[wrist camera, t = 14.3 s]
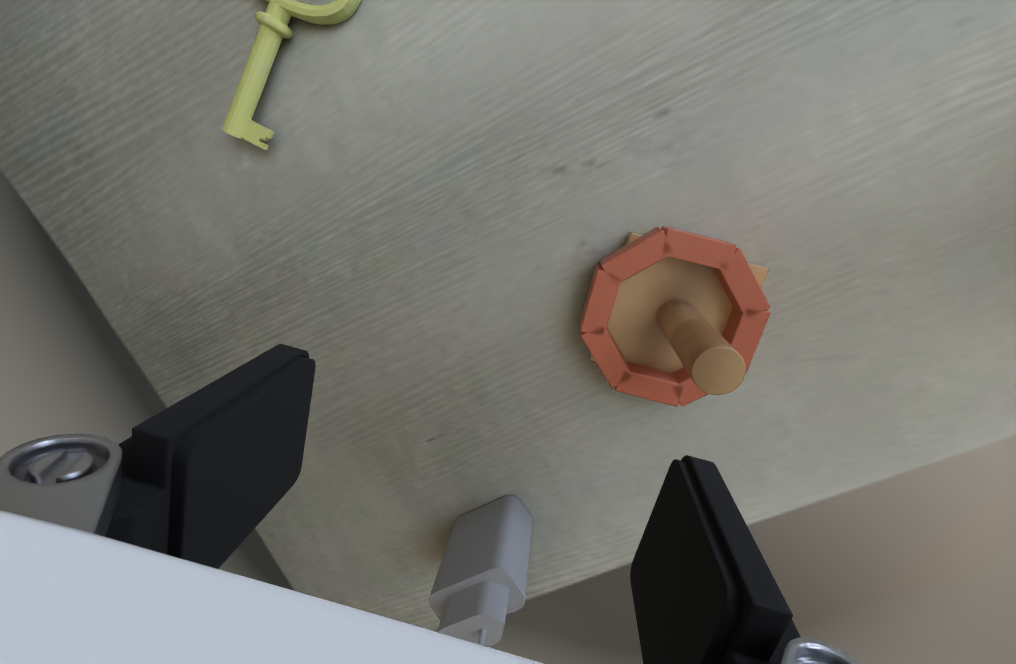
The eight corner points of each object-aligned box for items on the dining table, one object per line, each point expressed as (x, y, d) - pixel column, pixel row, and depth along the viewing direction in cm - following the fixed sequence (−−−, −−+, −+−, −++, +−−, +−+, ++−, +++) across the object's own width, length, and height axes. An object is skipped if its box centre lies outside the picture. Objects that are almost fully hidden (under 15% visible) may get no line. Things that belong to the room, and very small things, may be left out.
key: (239, 144, 31) (216, 142, 29) (240, -97, 28) (215, -118, 26) (354, 164, 31) (339, 163, 29) (370, -78, 27) (355, -99, 25)
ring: (779, 254, 29) (792, 259, 27) (719, 407, 32) (727, 420, 30) (610, 213, 29) (613, 215, 28) (566, 367, 32) (566, 378, 30)
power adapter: (449, 520, 37) (398, 671, 26) (514, 491, 36) (490, 636, 25) (472, 553, 38) (431, 715, 27) (536, 526, 37) (523, 683, 25)
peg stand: (763, 266, 30) (854, 306, 21) (714, 389, 32) (774, 476, 23) (629, 231, 30) (656, 255, 21) (589, 355, 33) (599, 428, 23)
